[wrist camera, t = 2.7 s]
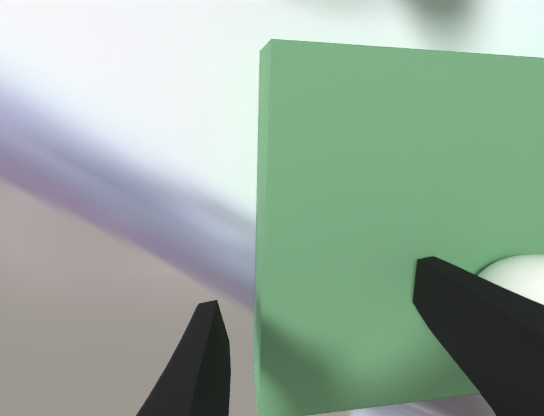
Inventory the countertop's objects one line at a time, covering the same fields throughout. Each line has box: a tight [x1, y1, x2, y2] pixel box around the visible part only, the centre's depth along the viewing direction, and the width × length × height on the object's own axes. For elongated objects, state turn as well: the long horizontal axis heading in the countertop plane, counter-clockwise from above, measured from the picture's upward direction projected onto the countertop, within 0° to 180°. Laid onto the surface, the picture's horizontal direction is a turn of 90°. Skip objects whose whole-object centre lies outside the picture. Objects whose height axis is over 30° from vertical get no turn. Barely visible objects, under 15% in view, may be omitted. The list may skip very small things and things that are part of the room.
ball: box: [477, 254, 544, 305], centre depth 9 cm, size 4×4×4 cm
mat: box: [253, 39, 544, 416], centre depth 13 cm, size 24×16×4 cm, turn 88°
